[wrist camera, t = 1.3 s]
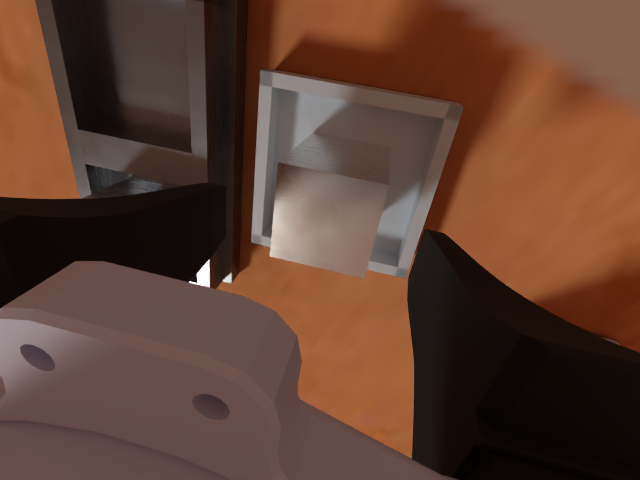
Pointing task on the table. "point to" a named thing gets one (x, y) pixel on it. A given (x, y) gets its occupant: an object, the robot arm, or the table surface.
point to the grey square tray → (366, 126)
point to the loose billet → (330, 203)
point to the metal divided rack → (154, 98)
